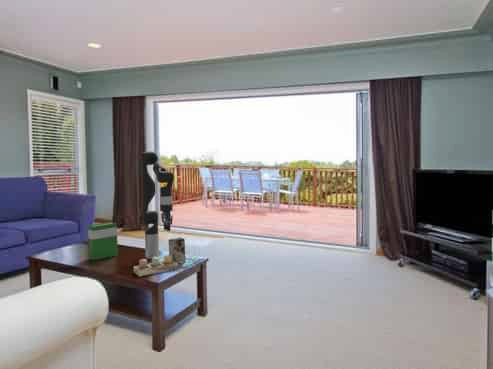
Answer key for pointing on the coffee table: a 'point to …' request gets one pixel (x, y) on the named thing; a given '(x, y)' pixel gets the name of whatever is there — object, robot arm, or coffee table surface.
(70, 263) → the coffee table surface
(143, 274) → the button board
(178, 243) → the coffee box
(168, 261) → the button ochre
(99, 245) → the green banded box
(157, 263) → the button sage
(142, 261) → the button terracotta
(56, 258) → the coffee table surface
